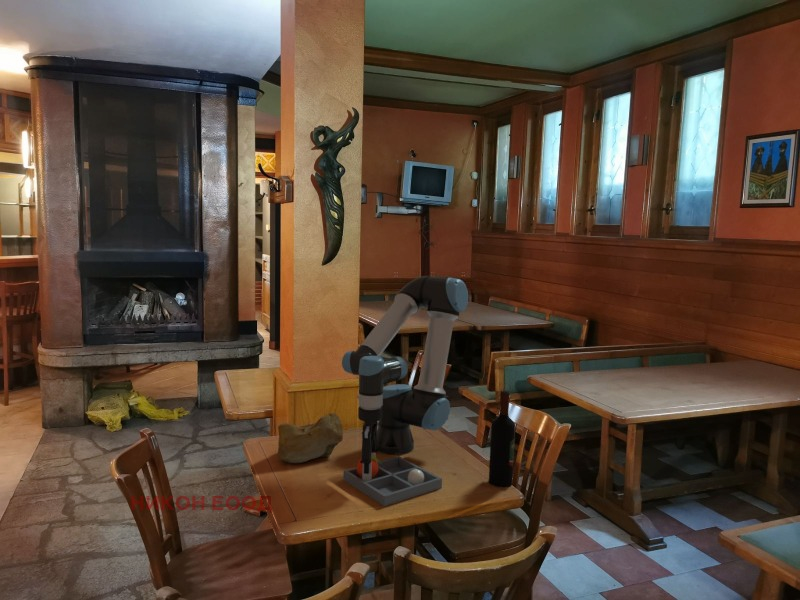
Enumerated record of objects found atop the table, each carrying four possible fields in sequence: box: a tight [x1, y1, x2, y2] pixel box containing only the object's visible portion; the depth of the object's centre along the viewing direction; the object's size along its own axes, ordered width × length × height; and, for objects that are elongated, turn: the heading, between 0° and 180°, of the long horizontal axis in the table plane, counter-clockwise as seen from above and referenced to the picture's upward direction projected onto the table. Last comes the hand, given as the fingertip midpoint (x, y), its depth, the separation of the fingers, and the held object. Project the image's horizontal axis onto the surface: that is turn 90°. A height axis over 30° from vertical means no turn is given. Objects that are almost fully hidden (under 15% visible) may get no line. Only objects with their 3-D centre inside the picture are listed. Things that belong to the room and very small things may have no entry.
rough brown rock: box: [277, 412, 344, 464], centre depth 211 cm, size 23×17×15 cm
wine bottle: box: [488, 390, 516, 488], centre depth 191 cm, size 8×8×30 cm
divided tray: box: [342, 455, 443, 507], centre depth 187 cm, size 22×22×4 cm
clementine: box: [356, 457, 382, 478], centre depth 187 cm, size 8×7×7 cm
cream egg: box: [408, 469, 424, 485], centre depth 186 cm, size 5×5×5 cm
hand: (368, 477), depth 188 cm, fingers closed on clementine, 7 cm apart
